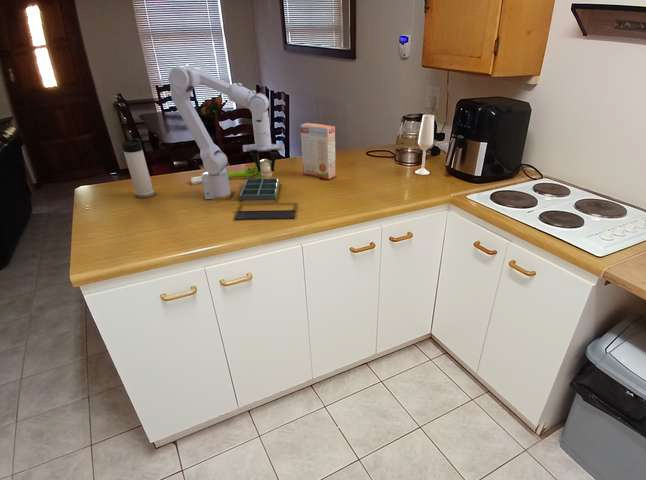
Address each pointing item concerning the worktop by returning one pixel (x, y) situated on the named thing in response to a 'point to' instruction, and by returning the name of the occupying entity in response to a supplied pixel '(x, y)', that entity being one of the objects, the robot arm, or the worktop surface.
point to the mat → (265, 215)
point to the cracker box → (318, 150)
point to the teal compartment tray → (260, 189)
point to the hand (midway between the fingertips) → (266, 171)
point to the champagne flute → (426, 139)
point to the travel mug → (138, 168)
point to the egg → (266, 168)
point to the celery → (234, 175)
